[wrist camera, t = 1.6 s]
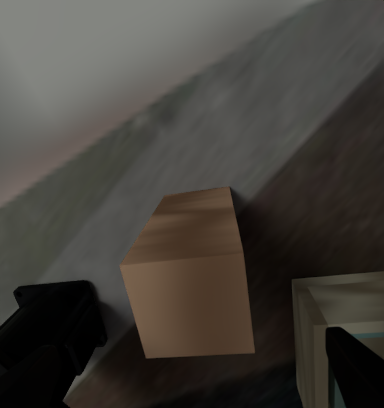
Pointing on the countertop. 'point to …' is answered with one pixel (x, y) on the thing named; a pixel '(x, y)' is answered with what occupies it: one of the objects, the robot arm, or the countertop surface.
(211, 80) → the countertop surface
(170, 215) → the peg
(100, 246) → the countertop surface
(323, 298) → the socket box
